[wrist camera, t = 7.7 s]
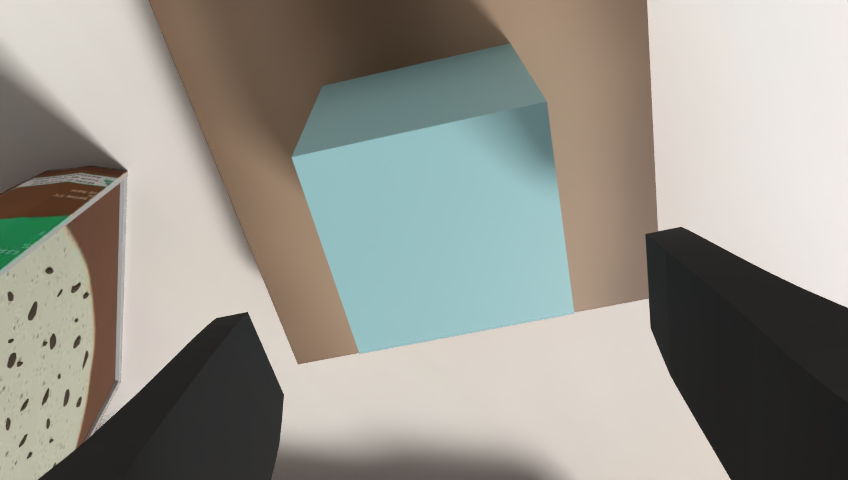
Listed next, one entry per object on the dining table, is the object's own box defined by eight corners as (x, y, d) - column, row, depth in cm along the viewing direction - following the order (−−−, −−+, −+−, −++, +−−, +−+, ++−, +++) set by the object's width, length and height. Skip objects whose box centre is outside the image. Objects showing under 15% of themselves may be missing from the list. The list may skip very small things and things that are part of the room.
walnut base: (605, -129, 17) (640, -132, 15) (632, 248, 23) (660, 296, 20) (183, -25, 18) (145, -9, 16) (310, 311, 24) (298, 364, 21)
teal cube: (510, 43, 16) (546, 101, 12) (536, 213, 19) (574, 313, 14) (322, 85, 17) (291, 157, 12) (371, 246, 19) (359, 354, 15)
